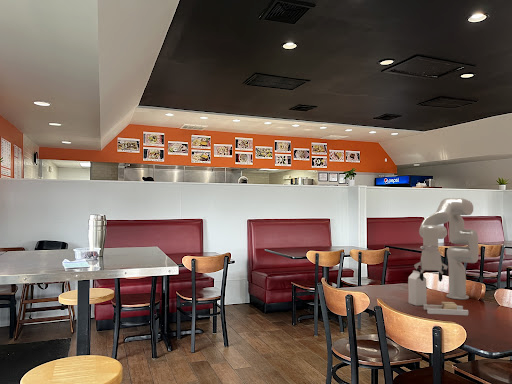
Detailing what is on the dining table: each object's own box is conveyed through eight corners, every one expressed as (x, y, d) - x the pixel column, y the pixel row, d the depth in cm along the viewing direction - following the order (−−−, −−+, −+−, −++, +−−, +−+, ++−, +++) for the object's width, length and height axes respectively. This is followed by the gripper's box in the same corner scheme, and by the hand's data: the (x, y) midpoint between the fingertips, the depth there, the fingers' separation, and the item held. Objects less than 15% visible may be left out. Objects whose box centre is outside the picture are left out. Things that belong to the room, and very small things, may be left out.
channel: (423, 308, 229) (423, 304, 229) (462, 310, 225) (462, 305, 225) (427, 313, 219) (427, 308, 219) (468, 315, 216) (468, 310, 216)
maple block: (441, 310, 225) (441, 301, 226) (453, 311, 224) (453, 302, 224) (444, 313, 219) (444, 304, 220) (456, 314, 218) (456, 304, 219)
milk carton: (416, 306, 236) (415, 272, 236) (408, 303, 242) (408, 270, 243) (426, 305, 237) (426, 271, 238) (418, 302, 244) (418, 270, 245)
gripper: (415, 249, 222) (415, 281, 222) (449, 249, 219) (450, 282, 219) (412, 247, 230) (412, 279, 229) (445, 248, 227) (446, 280, 226)
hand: (431, 280), depth 224 cm, fingers open, 8 cm apart
